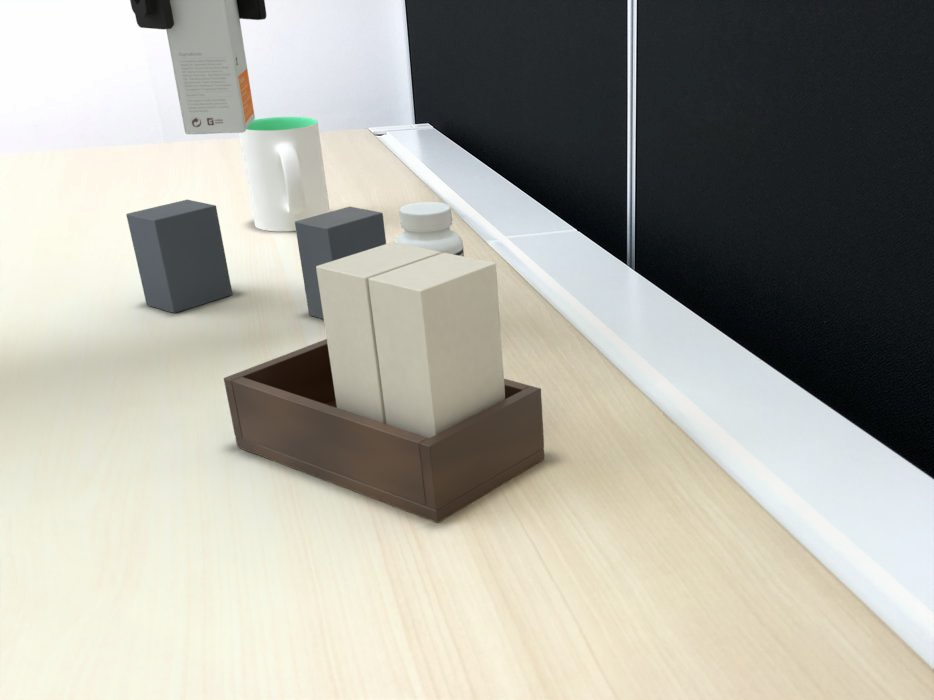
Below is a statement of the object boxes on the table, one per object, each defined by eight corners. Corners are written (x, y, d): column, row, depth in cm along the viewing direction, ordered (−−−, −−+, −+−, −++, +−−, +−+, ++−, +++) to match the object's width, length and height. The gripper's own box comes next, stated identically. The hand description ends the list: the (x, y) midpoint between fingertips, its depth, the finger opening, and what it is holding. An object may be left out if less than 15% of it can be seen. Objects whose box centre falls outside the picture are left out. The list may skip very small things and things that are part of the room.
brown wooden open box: (236, 447, 71) (222, 377, 68) (350, 397, 78) (340, 332, 75) (437, 523, 62) (429, 446, 59) (545, 459, 69) (541, 388, 66)
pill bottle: (390, 332, 89) (376, 212, 85) (425, 312, 94) (413, 197, 89) (448, 340, 87) (437, 218, 83) (481, 319, 92) (472, 202, 87)
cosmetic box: (247, 134, 78) (216, -54, 72) (184, 136, 77) (148, -53, 72) (257, 119, 83) (229, -57, 78) (198, 121, 83) (166, -56, 77)
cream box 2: (392, 474, 65) (367, 278, 60) (461, 437, 70) (444, 252, 64) (441, 491, 63) (420, 290, 58) (509, 453, 68) (496, 262, 62)
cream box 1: (343, 456, 67) (315, 265, 62) (413, 422, 72) (392, 241, 66) (390, 473, 65) (365, 277, 60) (458, 437, 70) (441, 251, 64)
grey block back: (146, 305, 96) (125, 213, 92) (205, 287, 100) (187, 199, 96) (174, 313, 94) (154, 220, 90) (233, 294, 98) (216, 205, 94)
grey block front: (308, 315, 93) (294, 221, 89) (361, 296, 97) (349, 206, 94) (341, 324, 91) (327, 228, 87) (393, 304, 95) (383, 212, 92)
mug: (346, 234, 116) (333, 132, 111) (268, 244, 113) (250, 139, 108) (322, 209, 125) (309, 114, 120) (249, 217, 122) (232, 120, 117)
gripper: (226, -263, 77) (267, 11, 85) (-20, -296, 64) (56, 31, 72) (299, -272, 73) (335, 16, 82) (55, -309, 61) (126, 37, 69)
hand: (204, 21), depth 77 cm, fingers closed on cosmetic box, 7 cm apart
